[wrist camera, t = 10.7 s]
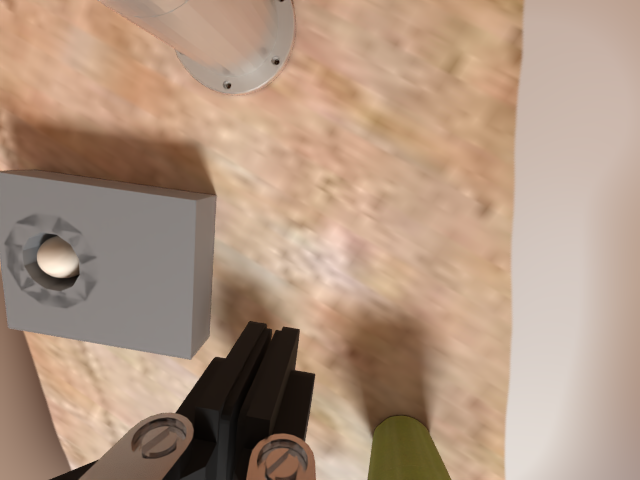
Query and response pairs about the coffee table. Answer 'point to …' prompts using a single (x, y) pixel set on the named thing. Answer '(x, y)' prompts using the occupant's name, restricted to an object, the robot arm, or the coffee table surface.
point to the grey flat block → (109, 261)
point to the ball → (58, 258)
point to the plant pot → (404, 452)
